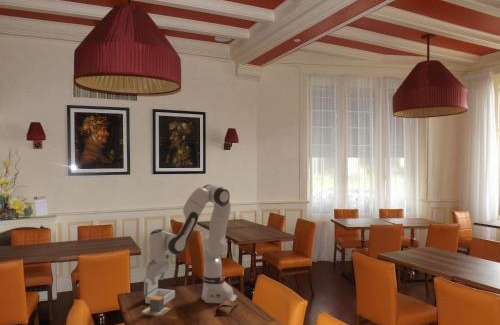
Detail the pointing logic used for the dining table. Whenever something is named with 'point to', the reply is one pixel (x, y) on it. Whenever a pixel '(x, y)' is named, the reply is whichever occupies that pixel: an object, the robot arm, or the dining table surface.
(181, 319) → the dining table surface
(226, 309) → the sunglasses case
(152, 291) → the case
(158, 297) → the block
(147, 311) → the birch board
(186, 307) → the dining table surface
